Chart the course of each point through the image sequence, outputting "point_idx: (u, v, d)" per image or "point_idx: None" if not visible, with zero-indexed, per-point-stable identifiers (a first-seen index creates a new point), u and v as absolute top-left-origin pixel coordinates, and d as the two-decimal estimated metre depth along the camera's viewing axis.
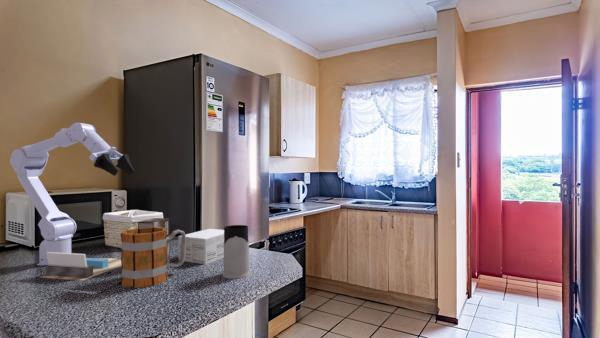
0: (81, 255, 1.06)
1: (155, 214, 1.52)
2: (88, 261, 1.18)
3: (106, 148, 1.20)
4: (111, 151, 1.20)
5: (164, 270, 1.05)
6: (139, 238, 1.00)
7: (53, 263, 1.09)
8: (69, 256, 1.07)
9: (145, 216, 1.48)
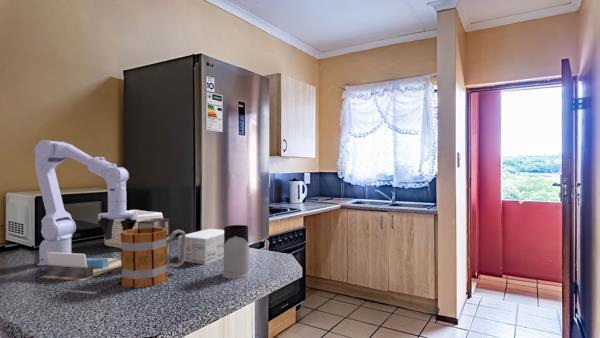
0: (81, 255, 1.06)
1: (154, 214, 1.52)
2: (88, 261, 1.18)
3: None
4: None
5: (164, 270, 1.05)
6: (139, 238, 1.00)
7: (53, 263, 1.09)
8: (69, 256, 1.07)
9: (144, 216, 1.48)
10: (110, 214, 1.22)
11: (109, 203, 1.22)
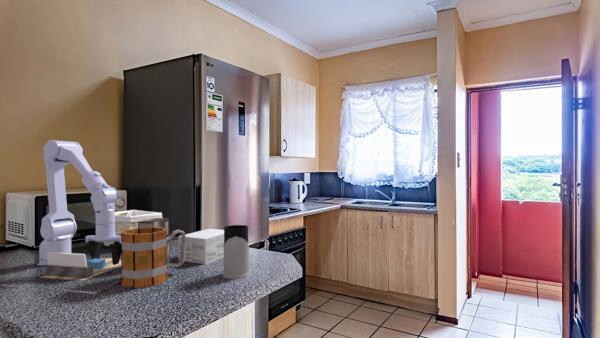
0: (81, 255, 1.06)
1: (154, 214, 1.52)
2: None
3: None
4: None
5: (164, 270, 1.05)
6: (139, 238, 1.00)
7: (53, 263, 1.09)
8: (69, 256, 1.07)
9: (144, 216, 1.48)
10: (98, 237, 1.16)
11: (97, 226, 1.17)
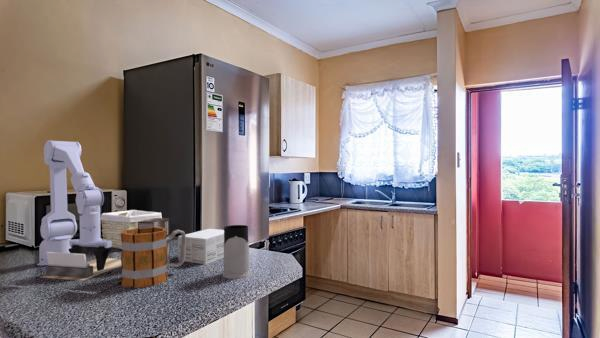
0: (81, 255, 1.06)
1: (154, 214, 1.52)
2: None
3: None
4: None
5: (164, 270, 1.05)
6: (139, 238, 1.00)
7: (53, 263, 1.09)
8: (69, 256, 1.07)
9: (144, 216, 1.48)
10: (82, 242, 1.10)
11: (81, 229, 1.10)
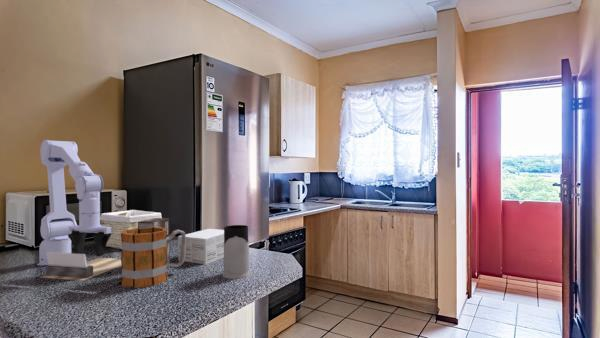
0: (81, 255, 1.06)
1: (153, 214, 1.51)
2: None
3: None
4: None
5: (164, 270, 1.05)
6: (139, 238, 1.00)
7: (53, 263, 1.09)
8: (69, 256, 1.07)
9: (143, 216, 1.48)
10: (81, 227, 1.10)
11: (80, 215, 1.10)
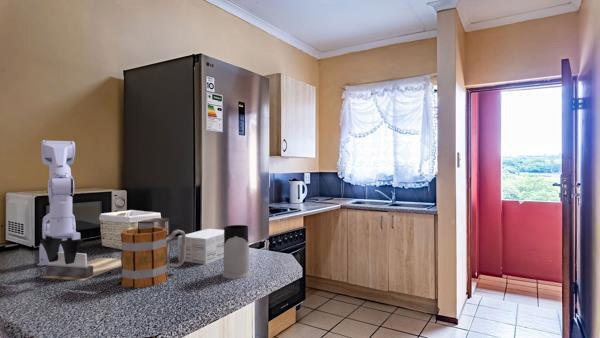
0: (82, 254, 1.07)
1: (153, 214, 1.51)
2: None
3: (72, 228, 1.08)
4: None
5: (164, 270, 1.05)
6: (139, 238, 1.00)
7: (53, 263, 1.09)
8: None
9: (143, 216, 1.47)
10: (50, 233, 1.04)
11: (50, 220, 1.04)
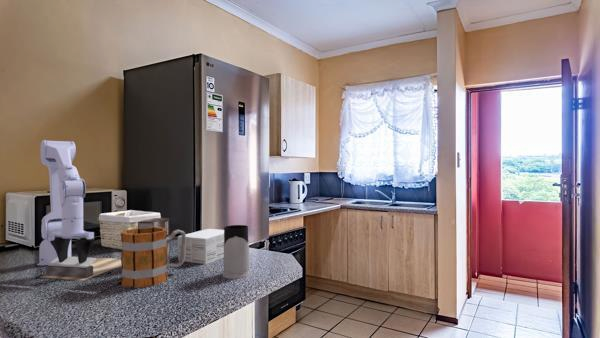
0: (92, 258, 1.10)
1: (153, 214, 1.51)
2: None
3: None
4: None
5: (164, 270, 1.05)
6: (139, 238, 1.00)
7: (55, 262, 1.10)
8: None
9: (143, 216, 1.47)
10: (63, 233, 1.07)
11: (62, 220, 1.08)
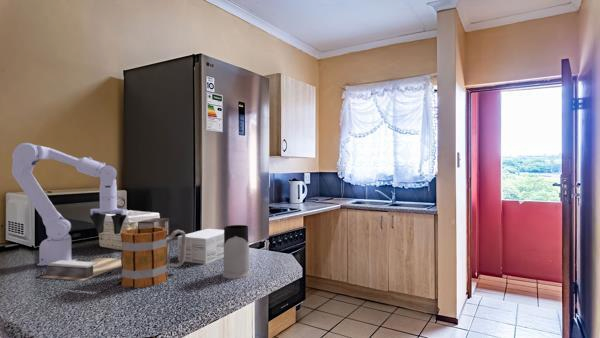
0: (93, 262, 1.11)
1: (152, 214, 1.51)
2: None
3: None
4: None
5: (164, 270, 1.05)
6: (139, 238, 1.00)
7: (56, 263, 1.10)
8: (80, 262, 1.11)
9: (142, 216, 1.47)
10: (101, 209, 1.30)
11: (101, 199, 1.30)
